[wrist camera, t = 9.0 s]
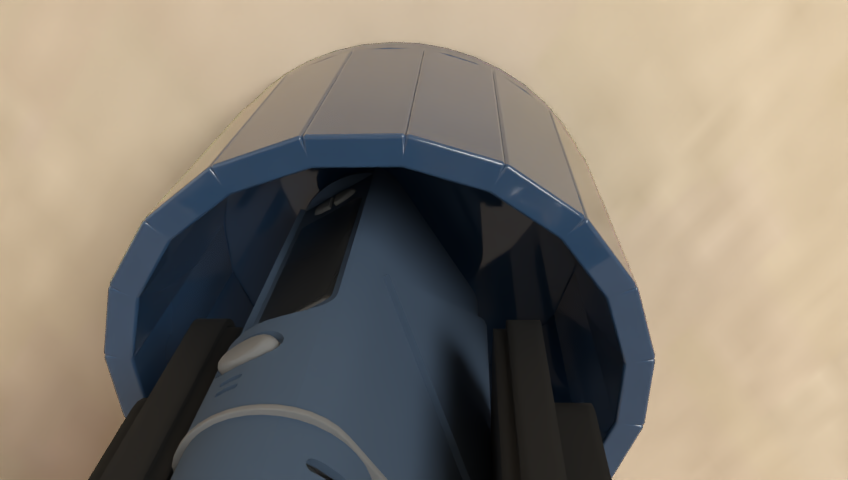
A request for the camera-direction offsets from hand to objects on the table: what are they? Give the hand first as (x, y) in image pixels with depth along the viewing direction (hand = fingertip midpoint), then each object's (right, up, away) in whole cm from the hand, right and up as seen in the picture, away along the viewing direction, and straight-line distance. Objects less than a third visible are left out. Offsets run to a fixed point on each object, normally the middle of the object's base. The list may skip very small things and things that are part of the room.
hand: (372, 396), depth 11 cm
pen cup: (0, +3, +5) cm, 6 cm away
